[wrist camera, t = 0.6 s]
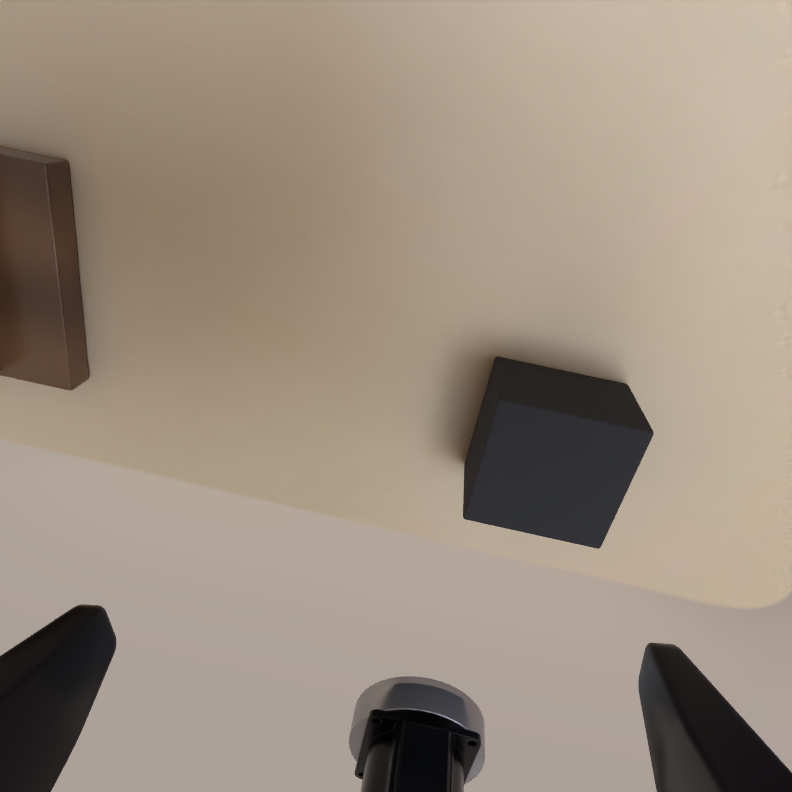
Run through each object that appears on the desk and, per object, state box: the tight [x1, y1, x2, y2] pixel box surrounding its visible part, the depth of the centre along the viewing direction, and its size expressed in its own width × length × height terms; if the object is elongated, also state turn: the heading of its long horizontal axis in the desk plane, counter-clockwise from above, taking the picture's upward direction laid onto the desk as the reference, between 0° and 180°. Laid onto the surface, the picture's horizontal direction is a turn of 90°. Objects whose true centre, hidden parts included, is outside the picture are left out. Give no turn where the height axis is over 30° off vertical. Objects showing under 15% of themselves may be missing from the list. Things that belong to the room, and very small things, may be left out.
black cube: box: [463, 357, 653, 548], centre depth 21 cm, size 5×5×4 cm
